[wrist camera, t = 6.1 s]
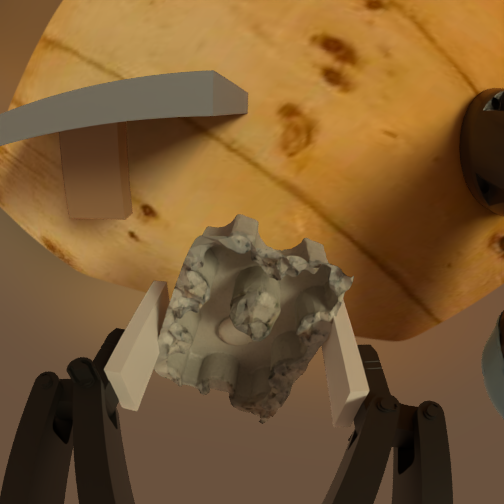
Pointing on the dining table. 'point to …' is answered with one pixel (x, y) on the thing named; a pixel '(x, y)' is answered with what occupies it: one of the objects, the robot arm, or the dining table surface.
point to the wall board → (114, 130)
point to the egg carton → (248, 316)
